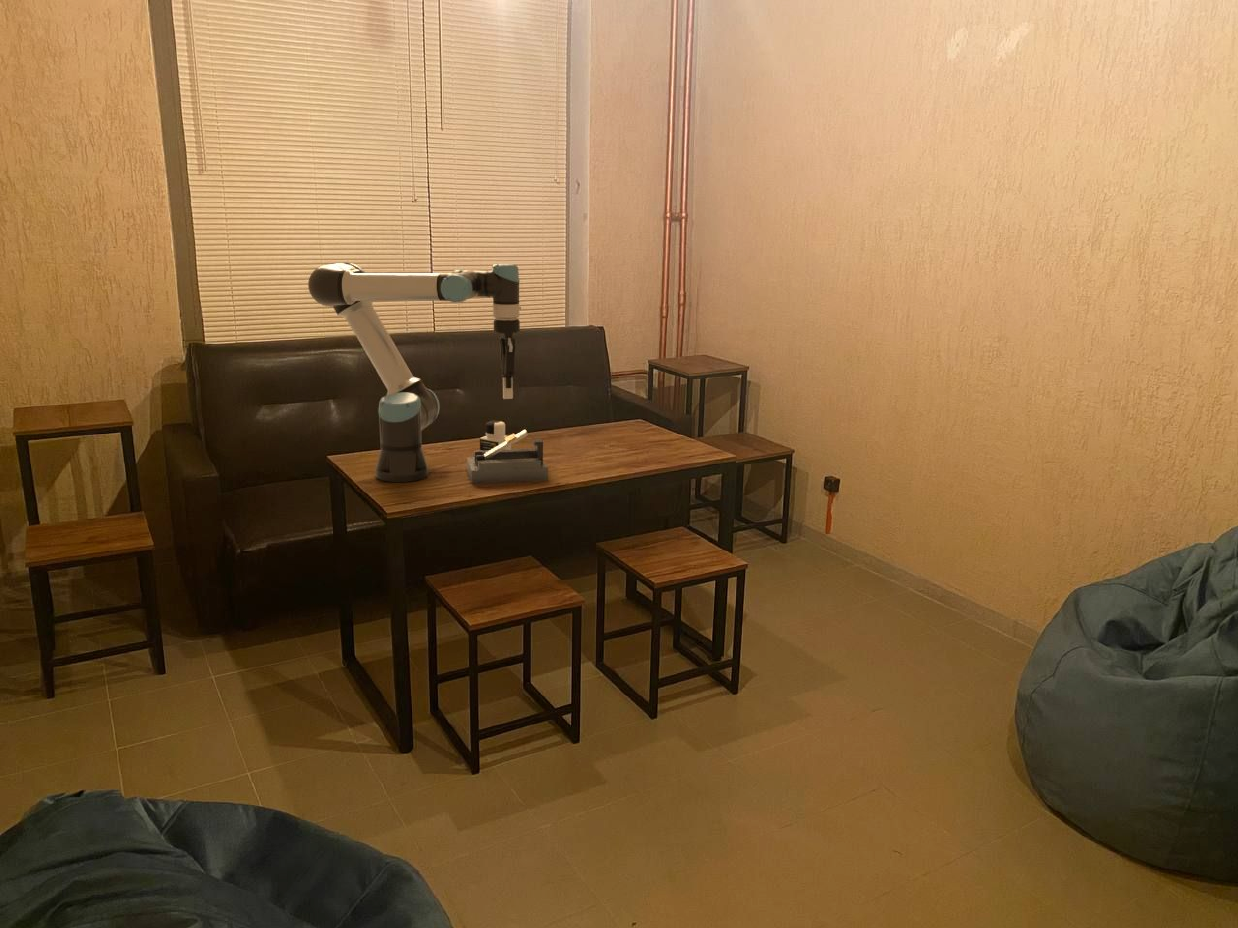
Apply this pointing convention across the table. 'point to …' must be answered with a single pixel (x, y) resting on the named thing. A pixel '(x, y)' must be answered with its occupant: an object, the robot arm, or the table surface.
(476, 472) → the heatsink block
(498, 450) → the strap
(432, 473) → the table surface
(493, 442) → the medicine bottle
